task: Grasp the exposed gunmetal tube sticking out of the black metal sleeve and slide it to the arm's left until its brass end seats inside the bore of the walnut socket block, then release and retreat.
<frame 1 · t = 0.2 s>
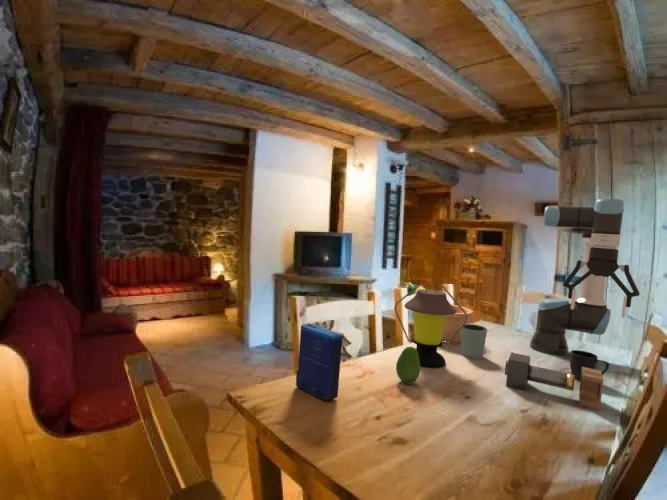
hand: (596, 312, 124), 27 cm above the table, fingers open, 13 cm apart
sleeve: (517, 384, 130), on the table
grey green textured cup: (471, 355, 158), on the table
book: (315, 394, 114), on the table
mug: (586, 381, 138), on the table
socket: (588, 402, 120), on the table
lantern: (426, 361, 148), on the table
tube: (538, 374, 127), point 5 cm above the table, slide at 0.0 cm
pottery: (446, 338, 181), on the table
fruit: (407, 382, 127), on the table
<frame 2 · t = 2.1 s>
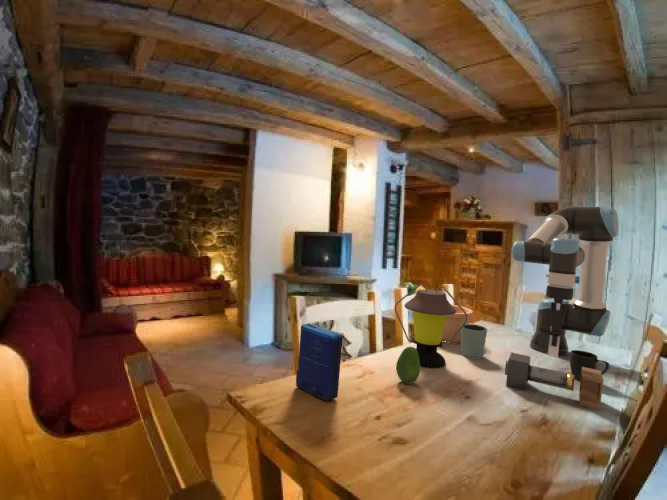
hand: (553, 350, 124), 14 cm above the table, fingers open, 13 cm apart
nothing on the table moved.
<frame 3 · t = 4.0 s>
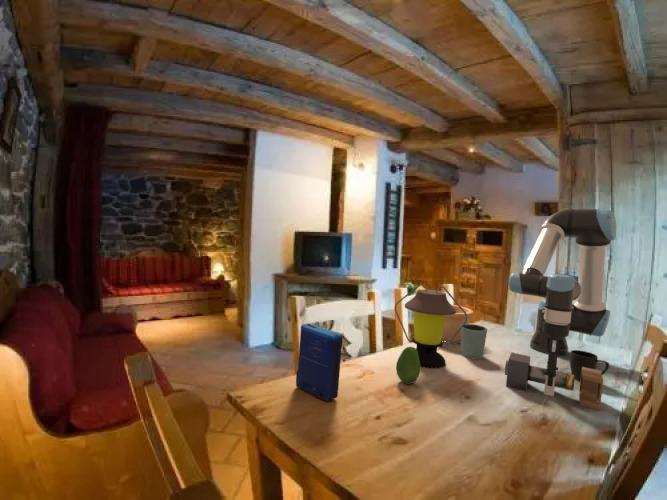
hand: (548, 391, 126), 0 cm above the table, fingers closed on tube, 5 cm apart
tube: (538, 374, 127), point 5 cm above the table, slide at 0.0 cm, touching gripper
everything else where it was.
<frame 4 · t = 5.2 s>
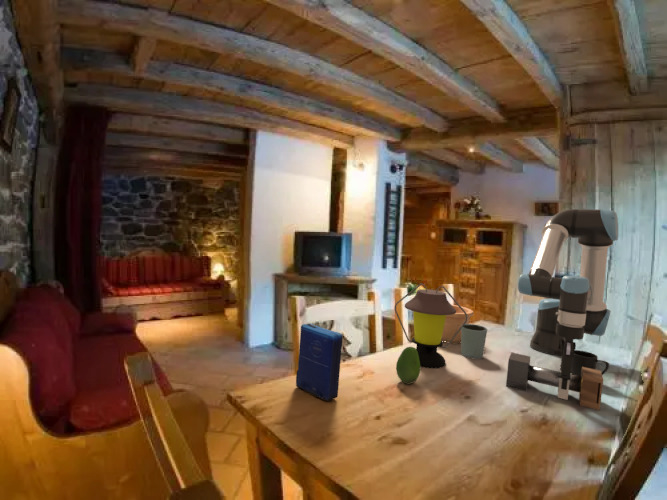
hand: (562, 394, 124), 0 cm above the table, fingers closed on tube, 5 cm apart
tube: (551, 377, 125), point 5 cm above the table, slide at 3.9 cm, touching gripper
everything else where it was.
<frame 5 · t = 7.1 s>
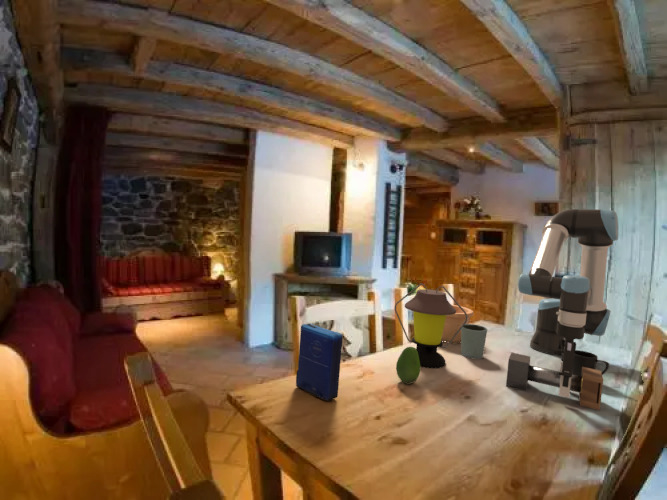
hand: (563, 388, 124), 2 cm above the table, fingers open, 13 cm apart
tube: (552, 378, 125), point 5 cm above the table, slide at 4.0 cm
everything else where it was.
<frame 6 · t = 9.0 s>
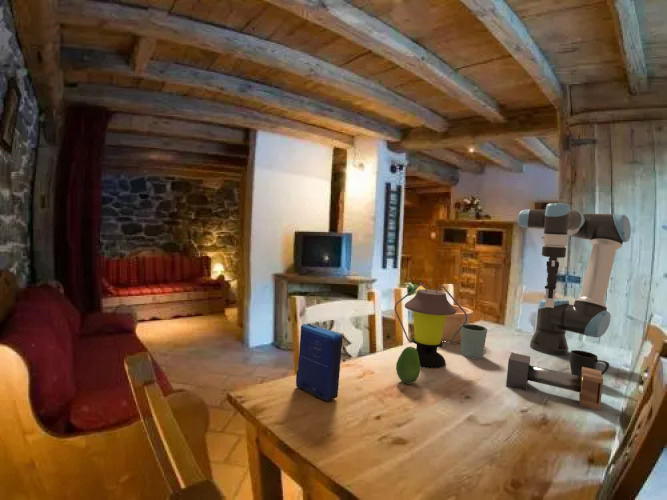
hand: (549, 303, 141), 26 cm above the table, fingers open, 13 cm apart
nothing on the table moved.
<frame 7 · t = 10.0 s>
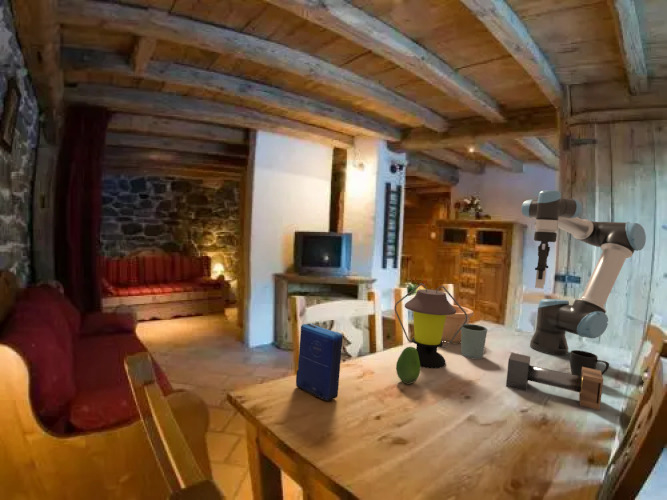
hand: (540, 286, 148), 32 cm above the table, fingers open, 13 cm apart
nothing on the table moved.
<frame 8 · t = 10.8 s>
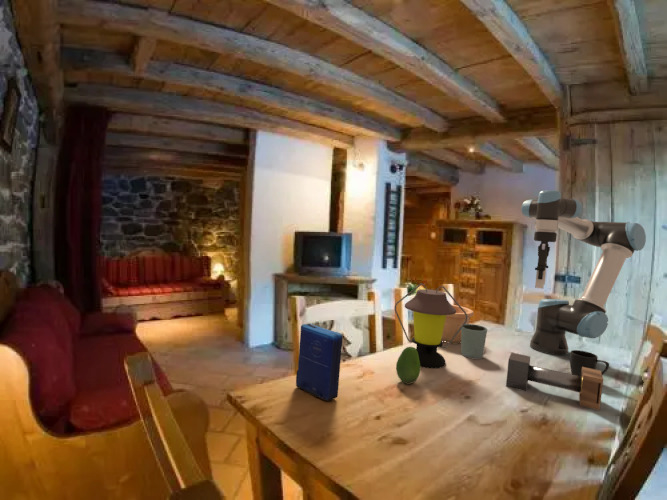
hand: (540, 286, 148), 32 cm above the table, fingers open, 13 cm apart
nothing on the table moved.
at the end: tube slide at 4.0 cm; the gripper is holding nothing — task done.
